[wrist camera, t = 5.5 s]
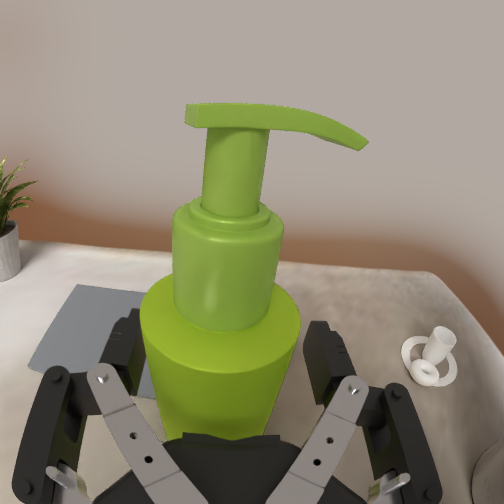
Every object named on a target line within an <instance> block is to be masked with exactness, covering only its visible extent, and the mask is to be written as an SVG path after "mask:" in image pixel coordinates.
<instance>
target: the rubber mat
mask: <svg viewBox="0 0 504 504" xmlns="http://www.w3.org/2000/svg"><path fill="white" fill-rule="evenodd" d="M145 295H146V293H142V292H133V291H125V290H116V289H108V288H101V287H93V286H86V285H79V284H77V285H76V287H75V288H74V290H73V291H72V293H71V294H70V296H69V297H68V299H67V300H66V302H65V303H64V305H63V306H62V308H61V309H60V311H59V312H58V314H57V315H56V317H55V319H54V320H53V322H52V323H51V325H50V327H49V328H48V330H47V332H46V333H45V335H44V337H43V338H42V340H41V342H40V344H39V345H38V347H37V349H36V351H35V353H34V354H33V356H32V358H31V360H30V362H29V364H28V365H27V366H28V367H29V368H30V369H32V370H35V371H38V372H41V373H45V372H46V370H47V369H49V368H50V367H52V366H56V365H59V366H63V367H65V368H66V369H67V370H68V371H69V373H80V372H87V371H88V370H89V369H90V368H91V367H92V366H93V365H95V364H98V363H99V361H100V358H101V355H102V353H103V350H104V348H105V345H106V343H107V340H108V339H109V336H110V333H111V331H112V328H113V326H114V324H115V323H116V322H117V321H118V320H119V319H120V318H121V317H126V318H128V316H129V314H130V311H131V309H132V308H138V309H140V307H141V303H142V301H143V298H144V296H145ZM137 396H140V397H146V398H153V399H156V396H155V392H154V388H153V384H152V380H151V375H150V371H149V366H148V361H147V357H146V360H145V364H144V368H143V372H142V376H141V380H140V385H139V389H138V393H137Z"/></svg>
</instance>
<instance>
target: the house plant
mask: <svg viewBox="0 0 504 504" xmlns="http://www.w3.org/2000/svg"><path fill="white" fill-rule="evenodd" d="M7 156H8V155H7ZM6 158H7V157H6ZM6 158H5V159H4V160H3V162H2V163H1V164H0V190H1V188H2V185H3V183H4V181H5V180H6V178H7V177H8V176H9V175H10V174H9V175H8V176H7V177H5V178H4V179H3V181H2V182H1V180H2V176H3V165H4V161H5V160H6ZM24 162H25V161H24ZM24 162H23V163H24ZM23 163H21V164H20V165H22V164H23ZM20 165H19V166H18V167H17V168H16V169H15V170H14V171H13V173H12V175H11V176H10V178H9V179H8V181H7V183H6V185H4V187H5V188H4V187H3V189H2V193H1V195H0V281H5V280H8V279H11V278H12V277H14V276H15V275H17V274H18V273H19V271H20V270H21V260H20V250H19V239H18V224H17V222H16V221H14V220H7V219H8V218H7V214H8V211H10V210H13V209H14V208H18V207H22V206H24V207H28V206H27V205H26V204H25V203H18V204H17V203H16V204H15V205H14V206H12V204H13V203H14V202H15V201H18V200H22V199H27V200H31V199H30V198H29V197H25V196H24V197H19V198H17V199H15V200H14V201H13V202H12V203H11V201H12V199H13V197H14V196H15V195H16V194H17V193H18V192H19V191H21V190H22V189H24V188H25V187H26V186H28V185H30V184H33V183H36V182H37V181H34V182H27V183H23V184H21V185H18V186H16V187H14V188H11V189H9V190H10V191H9V190H7V191H5V190H6V187H7V185H8V183H9V182H10V180H11V179H13V178H16V177H13V175H14V174H15V172H16V171H17V169H18V168H19V167H20ZM19 170H20V169H19ZM8 191H9V192H8ZM6 192H8V193H7V195H6V196H5V197H4V198H3V195H4V194H5V193H6ZM31 201H32V200H31ZM10 203H11V205H10ZM9 205H10V206H9ZM11 206H12V207H11ZM10 207H11V208H10ZM7 210H8V211H7ZM5 215H6V218H5V220H4V217H5ZM8 217H9V216H8Z"/></svg>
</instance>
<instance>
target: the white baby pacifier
mask: <svg viewBox="0 0 504 504" xmlns="http://www.w3.org/2000/svg"><path fill="white" fill-rule="evenodd" d="M456 342H457V339H456V336H455V335H454V333H453V332H452V331H451V330H449V329H448V328H446V327H442V326H437V327H435V328H434V330H433V332H432V334H431V336H430V338H429V337H425V336H413V337H410V338H408V339H407V340H406V341H405V342H404V343H403V345H402V348H401V356H402V360H403V362H404V364H405V366H406V368H407V369H408V370H409V372H410V374H411V376H412V378H413V379H414V380H415V381H416V382H417V383H419V384H420V385H423V386H435V387H443V386H447V385H449V384H451V383H452V382H453V381H454V380H455V378H456V376H457V364H456V361H455V359H454V357H453V355H452V354H451V352H450V351H451V349H452V348H453V347H454V345H455V344H456ZM419 343H425V344H426V345H425V348H424V350H423V353H422V359H416V360H414V361H413V362H411V359H410V350H411V348H412V347H413V346H414V345H416V344H419ZM445 357H446V358H447V360H448V363H449V372H448V374H447V375H446V376H445V377H443V378H440V379H439V372H438V370H437V369H436V367H435V366H436V365H437V364H439V363H440V362H441V361H442V360H443V359H444V358H445Z"/></svg>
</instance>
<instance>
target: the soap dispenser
mask: <svg viewBox="0 0 504 504" xmlns="http://www.w3.org/2000/svg"><path fill="white" fill-rule="evenodd" d="M185 123H186V124H188V125H190V126H193V127H195V128H208V130H207V140H206V150H205V162H204V174H203V187H202V196H201V197H198V198H196V199H194V200H192V201H191V202H190V203H187V204H185V205H183V206H181V207H180V208H179V209H177V210H176V211H175V213H174V215H173V220H172V268H173V273H172V274H170V275H168V276H166V277H164V278H163V279H161V280H159V281H158V282H157V283H155V284H154V285H153V286H152V287H151V288H150V289H149V291H148V292H147V293H146V295H145V296H144V298H143V301H142V303H141V307H140V323H141V329H142V335H143V341H144V346H145V351H146V356H147V361H148V366H149V371H150V375H151V380H152V384H153V388H154V392H155V396H156V400H157V404H158V408H159V412H160V415H161V419H162V422H163V426H164V429H165V433H166V436H167V439H168V441H170V440H173V439H177V438H182V434H183V432H187V433H198V434H208V435H211V436H215V437H219V438H223V439H226V440H238V439H243V438H247V437H252V436H256V435H263V433H264V430H265V428H266V425H267V423H268V420H269V417H270V415H271V412H272V410H273V407H274V404H275V402H276V399H277V396H278V394H279V391H280V388H281V385H282V383H283V380H284V377H285V374H286V371H287V369H288V366H289V363H290V360H291V357H292V354H293V351H294V348H295V345H296V342H297V339H298V336H299V332H300V327H301V320H300V314H299V311H298V308H297V306H296V304H295V302H294V301H293V299H292V298H291V297H290V296H289V294H288V293H287V292H286V291H285V290H283V289H282V288H281V287H280V286H278V285H277V284H276V283H274V280H275V275H276V270H277V265H278V259H279V254H280V248H281V243H282V239H283V232H284V224H283V222H282V220H281V218H280V217H279V216H278V215H277V214H275V213H274V212H272V211H271V210H269V208H268V207H267V206H266V205H264V204H263V203H261V202H260V195H261V187H262V181H263V174H264V167H265V159H266V152H267V146H268V139H269V132H270V129H271V130H285V131H296V132H304V133H309V134H311V135H314V136H316V137H318V138H320V139H323V140H325V141H329V142H332V143H335V144H339V145H342V146H345V147H348V148H351V149H354V150H357V151H359V150H361V149H362V148H363V147H365V145H367V144H368V140H367V139H365V138H364V137H363V136H361V135H360V134H358V133H357V132H355V131H354V130H352V129H350V128H349V127H347V126H345V125H343V124H341V123H339V122H337V121H335V120H333V119H330V118H328V117H325V116H322V115H319V114H316V113H313V112H309V111H305V110H301V109H296V108H290V107H284V106H276V105H265V104H247V103H245V104H244V103H203V104H202V103H200V104H187V105H186V111H185Z"/></svg>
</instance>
